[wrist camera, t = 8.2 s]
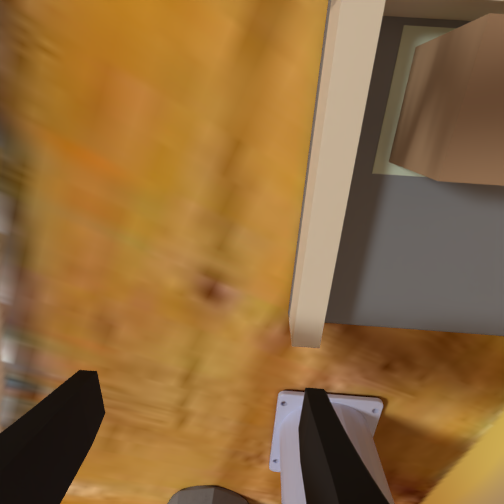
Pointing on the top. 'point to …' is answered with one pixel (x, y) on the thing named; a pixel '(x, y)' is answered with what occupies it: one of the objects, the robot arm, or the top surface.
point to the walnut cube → (455, 106)
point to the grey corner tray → (389, 191)
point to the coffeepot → (206, 496)
